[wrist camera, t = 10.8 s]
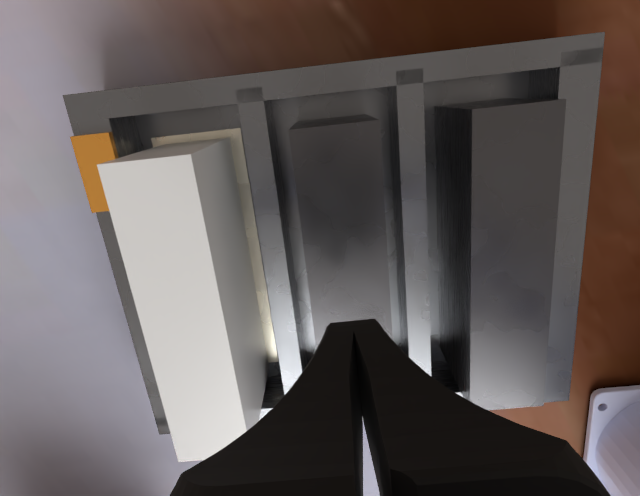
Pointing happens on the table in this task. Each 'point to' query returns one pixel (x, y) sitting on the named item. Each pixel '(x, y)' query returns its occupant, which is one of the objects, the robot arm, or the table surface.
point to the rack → (392, 204)
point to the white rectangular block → (192, 287)
